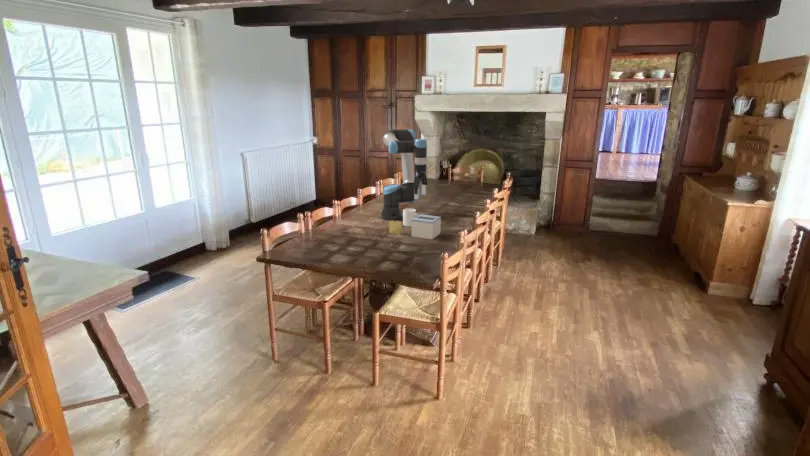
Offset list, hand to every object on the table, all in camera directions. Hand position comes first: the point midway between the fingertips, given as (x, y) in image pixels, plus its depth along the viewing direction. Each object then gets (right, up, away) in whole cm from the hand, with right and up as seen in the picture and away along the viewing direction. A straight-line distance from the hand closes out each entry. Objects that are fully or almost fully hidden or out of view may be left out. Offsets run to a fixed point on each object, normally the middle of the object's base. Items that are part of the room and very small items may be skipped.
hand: (420, 196), depth 279 cm
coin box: (+4, -25, -7) cm, 26 cm away
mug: (-5, -19, +13) cm, 24 cm away
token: (-16, -24, -3) cm, 29 cm away
